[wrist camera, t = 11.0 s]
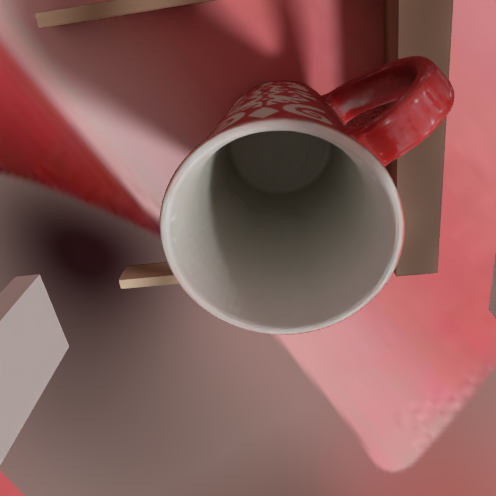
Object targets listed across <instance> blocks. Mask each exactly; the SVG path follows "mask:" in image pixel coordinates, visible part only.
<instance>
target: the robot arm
mask: <svg viewBox="0 0 496 496" xmlns="http://www.w3.org/2000/svg"><path fill="white" fill-rule="evenodd" d="M489 310H490V311H491V313H492V314H493V316H494V317H495V318H496V255H495V264H494V272H493V280H492V288H491V296H490V304H489ZM68 347H69V345H68V343H67V341H66V338H65V336H64V333H63V331H62V328H61V326H60V323H59V321H58V319H57V316H56V313H55V311H54V309H53V306H52V304H51V301H50V299H49V296H48V294H47V291H46V289H45V287H44V284H43V282H42V279H41V277H40V275H29V276H20V277H15V278H14V279H13V280H12V281H11V282H10V283H9V284H8V286H7V287H6V288H5V289H4V290H3V291H2V292H1V293H0V465H1V463H2V461H3V459H4V458H5V456H6V454H7V453H8V451H9V449H10V447H11V446H12V444H13V442H14V440H15V439H16V437H17V435H18V433H19V432H20V430H21V428H22V427H23V425H24V423H25V422H26V420H27V418H28V416H29V415H30V413H31V411H32V409H33V408H34V406H35V404H36V403H37V401H38V399H39V397H40V396H41V394H42V392H43V390H44V389H45V387H46V385H47V384H48V382H49V380H50V378H51V377H52V375H53V373H54V372H55V370H56V368H57V366H58V364H59V363H60V361H61V359H62V358H63V356H64V354H65V353H66V351H67V349H68Z"/></svg>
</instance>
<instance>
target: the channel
mask: <svg viewBox="0 0 496 496" xmlns="http://www.w3.org/2000/svg"><path fill="white" fill-rule="evenodd" d="M209 1H215V0H113V1H107V2H101V3H95V4H89V5H83V6H77V7H71V8H65V9H59V10H53V11H47V12H41V13H35V14H34V15H35V18H36V21H37V24H38V27H39V28H44V27H54V26H61V25H67V24H73V23H79V22H85V21H91V20H98V19H104V18H110V17H116V16H122V15H128V14H135V13H141V12H147V11H153V10H159V9H165V8H172V7H178V6H184V5H190V4H196V3H203V2H209ZM452 13H453V0H384V64H386V63H389V62H391V61H394V60H397V59H401V58H405V57H410V56H422V57H426V58H428V59H429V60H431V61H432V62H433V63H434V64H435V65H436V66H437V67H438V68H439V69H440V70H441V71H442V72H443V73H444V75H445V76H446V77H447V78H448V80H449V64H450V47H451V30H452ZM395 101H396V100H395ZM395 101H392V102H389V103H386V104H384V110H385V109H387V108H388V107H389V106H391V105H392V104H393V103H394V102H395ZM445 134H446V117H445V119H444V120H443V121H442V123H441V124H440V125H439V126H438V127H437V128H436V129H435V130H434V131H433V132H432V133H431V134H430V135H429V136H428V137H427V138H426V139H424V140H423V141H422V142H421V143H419V144H418V145H417V146H415V147H414V148H412V149H411V150H410V151H408V152H407V153H406V154H404V155H402V156H400V157H399V158H397V159H395V160H393V161H391V162H390V163H389V164H388V165H386V166H385V168H386V169H387V171H388V173H389V174H390V176H391V178H392V179H393V182H394V184H395V186H396V188H397V191H398V193H399V195H400V199H401V202H402V206H403V210H404V219H405V237H404V243H403V248H402V253H401V256H400V258H399V263H398V264H397V266H396V268H395V270H394V273H395V275H396V276H407V275H419V274H430V273H437V272H438V255H439V237H440V220H441V203H442V186H443V168H444V151H445ZM119 283H120V286H121V288H122V289H124V288H135V287H146V286H157V285H168V284H179V282H178V281H177V279H176V278H175V276H174V275H173V273H172V271H171V269H170V267H169V264H168V262H162V263H152V264H142V265H131V266H127V267H126V269H125V270H124V272H123V274H122V276H121V277H120V279H119Z"/></svg>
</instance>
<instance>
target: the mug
mask: <svg viewBox="0 0 496 496" xmlns="http://www.w3.org/2000/svg"><path fill="white" fill-rule="evenodd" d="M395 100H396V101H395ZM392 101H395V102H394V103H393V104H392V105H391V106H389V107H388V108H387V109H385V110H384V111H383V112H382V113H380V114H379V115H378V116H376V117H375V118H373V119H372V120H370V121H369V122H367V123H365V124H363V125H361V126H358V127H354V126H351V125H346V123H347V122H349V121H350V120H351V119H353V118H354V117H356V116H357V115H359V114H361V113H363V112H366V111H368V110H370V109H373V108H375V107H378V106H381V105H384V104H386V103H389V102H392ZM453 102H454V90H453V87H452V85H451V83H450V81H449V80H448V78H447V77H446V76H445V75H444V73H443V72H442V71H441V70H440V69H439V68H438V67H437V66H436V65H435V64H434V63H433V62H432V61H431V60H429V59H428V58H426V57H422V56H410V57H405V58H401V59H397V60H394V61H391V62H389V63H386V64H384V65H381V66H379V67H377V68H375V69H373V70H371V71H368V72H366V73H364V74H362V75H360V76H358V77H356V78H354V79H353V80H351V81H349V82H347V83H345V84H343V85H341V86H340V87H338V88H336V89H335V90H333V91H331V92H330V93H327V94H325V95H322V96H321V95H319V94H318V93H317V92H315V91H314V90H312V89H311V88H309V87H307V86H304V85H302V84H299V83H295V82H291V81H273V82H269V83H265V84H262V85H259V86H257V87H255V88H253V89H251V90H250V91H248V92H247V93H245V94H244V95H243V96H242V97H241V98H240V99H239V100H238V101H237V102H236V103H235V104H234V105H233V106H232V107H231V109H230V110H229V112H228V113H227V114H226V115H225V117H224V118H223V119H222V120H221V121H220V123H219V124H218V126H217V127H216V128H215V130H214V131H213V132H212V133H211V134H210V135H209V137H208V138H207V139H206V140H205V141H203V142H202V143H201V144H199V145H198V146H197V147H196V148H195V149H194V150H193V151H192V152H191V153H190V154H189V155H188V156H187V157H186V158H185V159H184V160H183V162H182V163H181V164H180V165H179V167H178V168H177V170H176V171H175V173H174V175H173V176H172V178H171V180H170V182H169V184H168V187H167V189H166V192H165V195H164V198H163V201H162V206H161V212H160V237H161V242H162V246H163V250H164V254H165V257H166V260H167V262H168V264H169V267H170V269H171V271H172V273H173V275H174V276H175V278H176V279H177V281H178V282H179V284H180V285H181V287H182V288H183V289H184V290H185V292H186V293H187V294H188V295H189V296H190V297H191V298H192V299H193V300H194V301H195V302H197V303H198V304H199V305H200V306H201V307H202V308H204V309H205V310H206V311H208V312H209V313H211V314H212V315H214V316H216V317H217V318H219V319H221V320H223V321H225V322H227V323H229V324H232V325H234V326H237V327H240V328H243V329H246V330H250V331H254V332H259V333H267V334H280V335H289V334H300V333H306V332H311V331H316V330H320V329H323V328H326V327H329V326H331V325H334V324H336V323H339V322H341V321H343V320H345V319H347V318H348V317H350V316H352V315H353V314H355V313H356V312H358V311H359V310H361V309H362V308H363V307H365V306H366V305H367V304H368V303H370V302H371V301H372V300H373V299H374V298H375V297H376V295H377V294H378V293H379V292H380V291H381V290H382V289H383V287H384V286H385V285H386V284H387V282H388V281H389V279H390V278H391V276H392V274H393V272H394V270H395V268H396V266H397V264H398V263H399V258H400V256H401V253H402V248H403V243H404V237H405V219H404V210H403V206H402V202H401V199H400V195H399V193H398V191H397V188H396V186H395V184H394V182H393V179H392V178H391V176H390V174H389V173H388V171H387V169H386V168H385V166H386V165H388V164H389V163H390V162H391V161H393V160H395V159H397V158H399V157H400V156H402V155H404V154H406V153H407V152H408V151H410V150H411V149H412V148H414V147H415V146H417V145H418V144H419V143H421V142H422V141H423V140H424V139H426V138H427V137H428V136H429V135H430V134H431V133H432V132H433V131H434V130H435V129H436V128H437V127H438V126H439V125H440V124H441V123H442V121H443V120H444V119H445V117H446V116H447V114H448V113H449V112H450V110H451V108H452V106H453Z"/></svg>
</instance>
